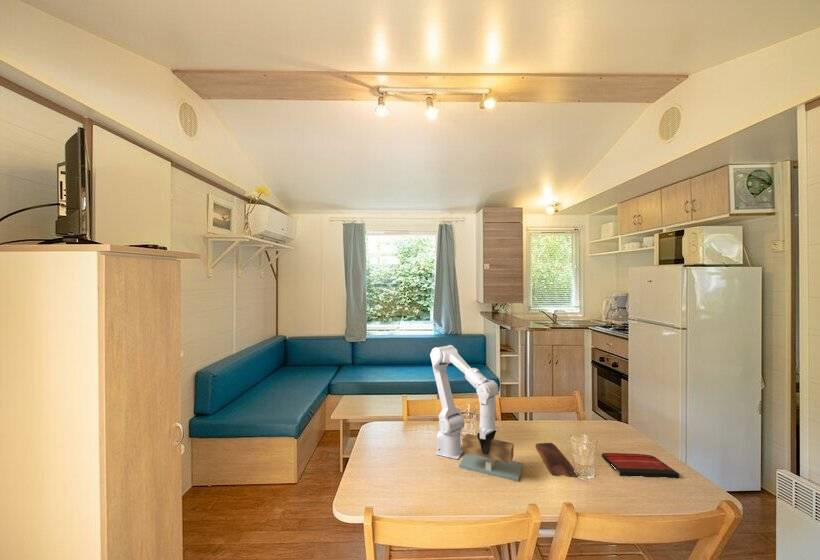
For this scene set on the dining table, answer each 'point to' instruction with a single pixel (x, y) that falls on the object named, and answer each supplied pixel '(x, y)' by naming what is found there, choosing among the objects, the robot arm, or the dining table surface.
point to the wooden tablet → (555, 460)
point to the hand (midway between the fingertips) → (487, 450)
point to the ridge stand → (492, 466)
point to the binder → (639, 465)
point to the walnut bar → (496, 451)
